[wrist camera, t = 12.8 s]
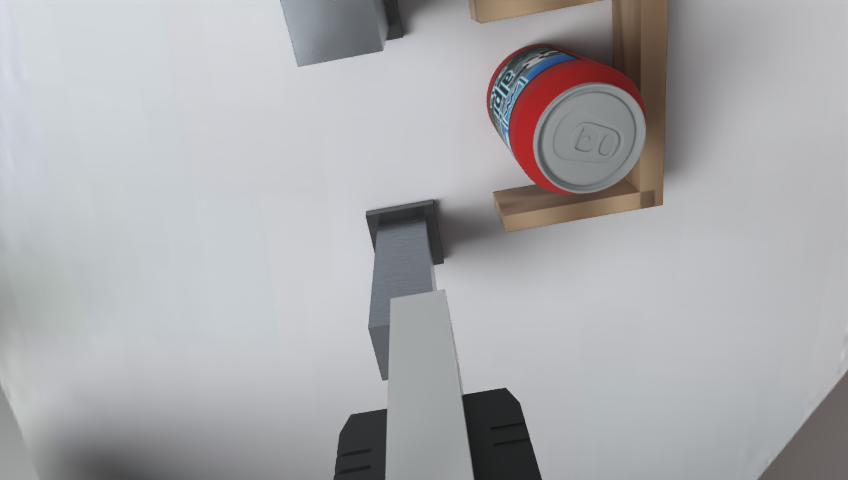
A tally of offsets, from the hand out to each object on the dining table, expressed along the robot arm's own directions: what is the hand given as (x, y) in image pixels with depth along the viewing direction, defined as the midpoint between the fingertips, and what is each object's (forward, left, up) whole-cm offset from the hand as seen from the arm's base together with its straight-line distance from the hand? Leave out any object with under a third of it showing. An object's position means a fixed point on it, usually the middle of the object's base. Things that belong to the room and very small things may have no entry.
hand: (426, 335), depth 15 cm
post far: (-2, -8, -24) cm, 26 cm away
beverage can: (+9, +1, -25) cm, 26 cm away
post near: (-2, +8, -24) cm, 26 cm away
